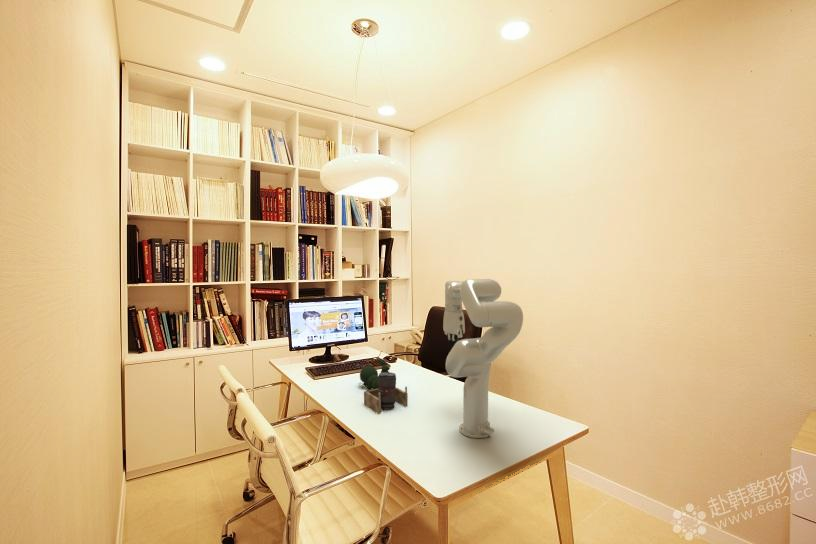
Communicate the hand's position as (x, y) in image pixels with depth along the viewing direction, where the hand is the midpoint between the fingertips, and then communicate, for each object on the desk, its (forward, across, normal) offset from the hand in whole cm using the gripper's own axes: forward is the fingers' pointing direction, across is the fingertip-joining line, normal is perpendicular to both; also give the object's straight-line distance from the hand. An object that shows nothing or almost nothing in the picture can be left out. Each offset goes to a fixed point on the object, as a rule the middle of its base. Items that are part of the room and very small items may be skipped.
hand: (453, 348), depth 168 cm
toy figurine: (+27, +42, +17) cm, 53 cm away
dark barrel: (+27, +18, +24) cm, 40 cm away
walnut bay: (+27, +20, +23) cm, 41 cm away
